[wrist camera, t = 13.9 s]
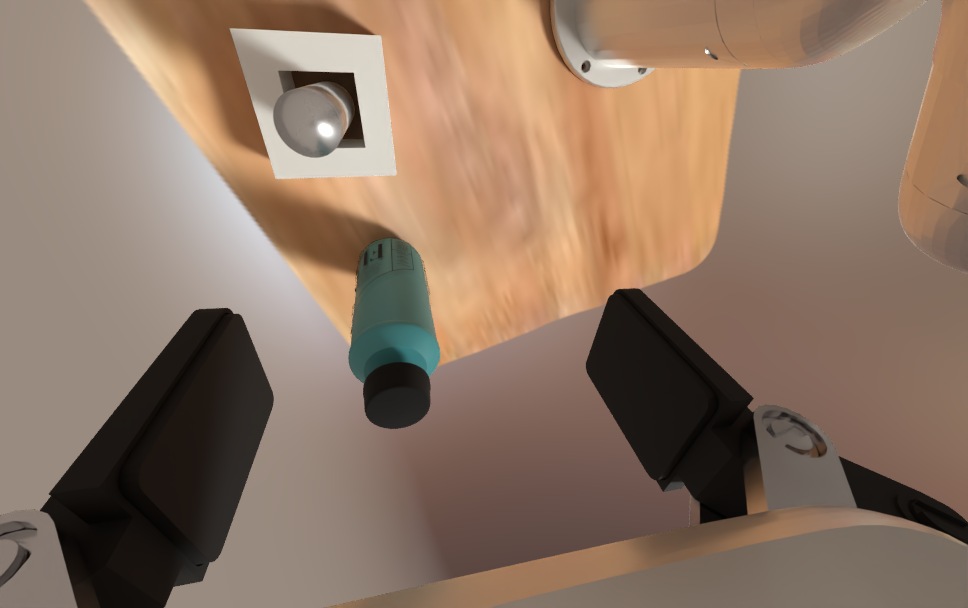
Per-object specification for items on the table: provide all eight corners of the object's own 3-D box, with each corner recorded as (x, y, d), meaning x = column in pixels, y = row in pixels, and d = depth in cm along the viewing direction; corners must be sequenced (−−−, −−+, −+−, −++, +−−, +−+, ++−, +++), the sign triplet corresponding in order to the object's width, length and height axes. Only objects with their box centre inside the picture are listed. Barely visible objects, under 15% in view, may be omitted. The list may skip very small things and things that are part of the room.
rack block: (381, 39, 26) (380, 35, 23) (395, 163, 31) (396, 175, 28) (249, 32, 24) (229, 28, 21) (287, 166, 29) (275, 179, 26)
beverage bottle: (382, 216, 34) (379, 354, 18) (435, 253, 37) (474, 395, 21) (345, 265, 35) (313, 428, 20) (399, 295, 39) (410, 455, 23)
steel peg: (350, 81, 27) (334, 89, 18) (358, 129, 29) (346, 157, 20) (303, 80, 26) (263, 88, 18) (315, 129, 28) (283, 158, 20)
